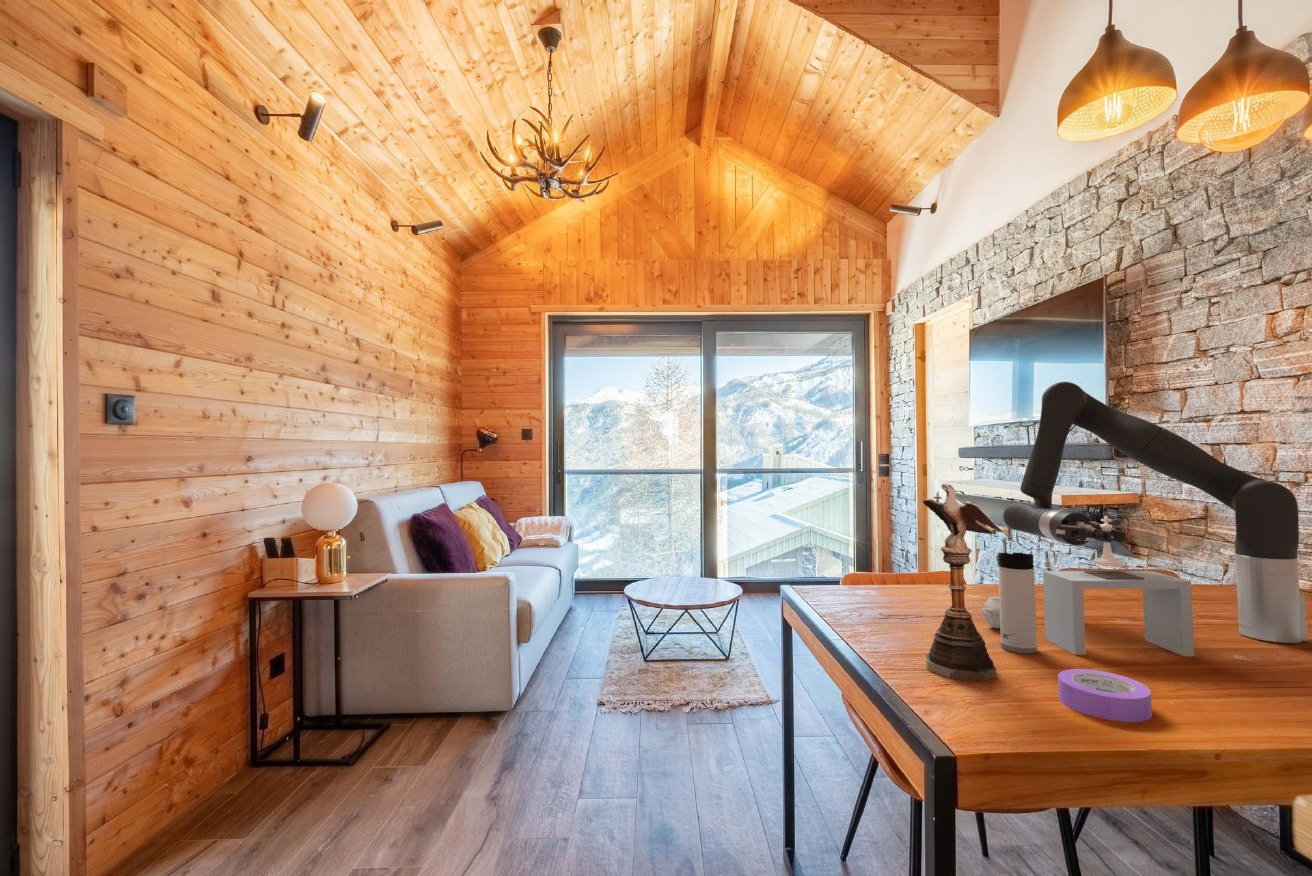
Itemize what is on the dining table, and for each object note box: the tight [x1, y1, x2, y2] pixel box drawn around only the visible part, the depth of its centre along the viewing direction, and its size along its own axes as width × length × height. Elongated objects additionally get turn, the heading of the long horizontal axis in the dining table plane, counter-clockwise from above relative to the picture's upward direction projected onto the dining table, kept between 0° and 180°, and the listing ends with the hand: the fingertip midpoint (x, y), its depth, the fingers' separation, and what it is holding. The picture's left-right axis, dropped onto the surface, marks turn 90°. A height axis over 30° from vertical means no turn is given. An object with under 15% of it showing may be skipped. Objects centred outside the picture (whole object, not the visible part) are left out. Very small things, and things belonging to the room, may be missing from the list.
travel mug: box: [997, 551, 1038, 655], centre depth 119 cm, size 6×7×20 cm
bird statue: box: [922, 483, 1012, 682], centre depth 111 cm, size 17×13×35 cm
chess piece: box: [1092, 515, 1124, 567], centre depth 122 cm, size 5×5×10 cm
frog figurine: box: [981, 596, 1000, 630], centre depth 134 cm, size 6×7×7 cm
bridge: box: [1042, 570, 1195, 657], centre depth 120 cm, size 22×10×14 cm, turn 85°
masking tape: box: [1057, 668, 1153, 723], centre depth 92 cm, size 12×12×4 cm
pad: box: [1083, 570, 1144, 580], centre depth 120 cm, size 7×7×1 cm
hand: (1116, 537), depth 119 cm, fingers closed on chess piece
